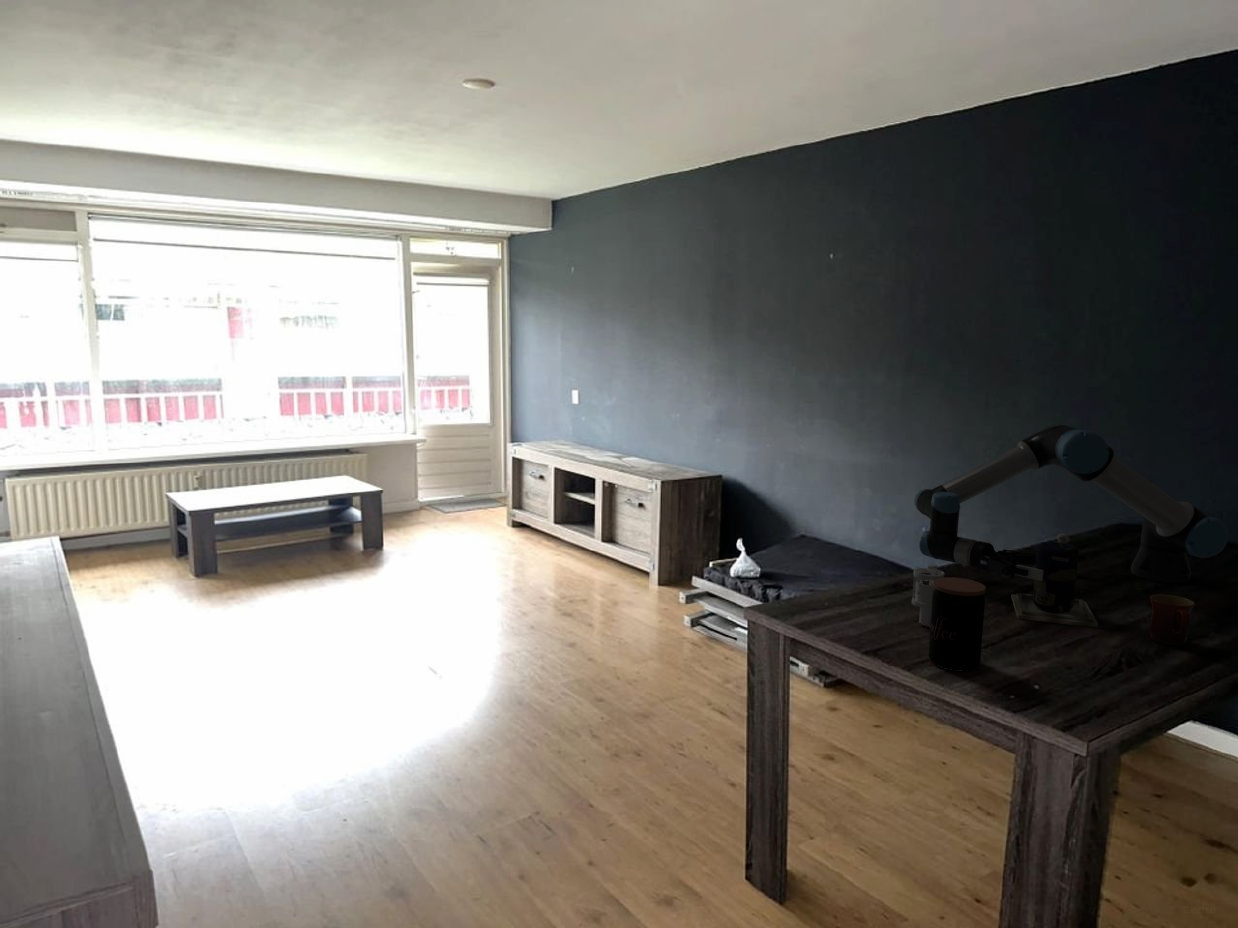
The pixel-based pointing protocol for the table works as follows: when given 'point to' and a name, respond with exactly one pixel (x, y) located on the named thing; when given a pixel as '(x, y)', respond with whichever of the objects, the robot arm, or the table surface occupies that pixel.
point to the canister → (1056, 576)
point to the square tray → (1053, 612)
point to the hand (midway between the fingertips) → (1054, 570)
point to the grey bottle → (925, 591)
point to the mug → (1170, 619)
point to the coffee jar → (956, 623)
